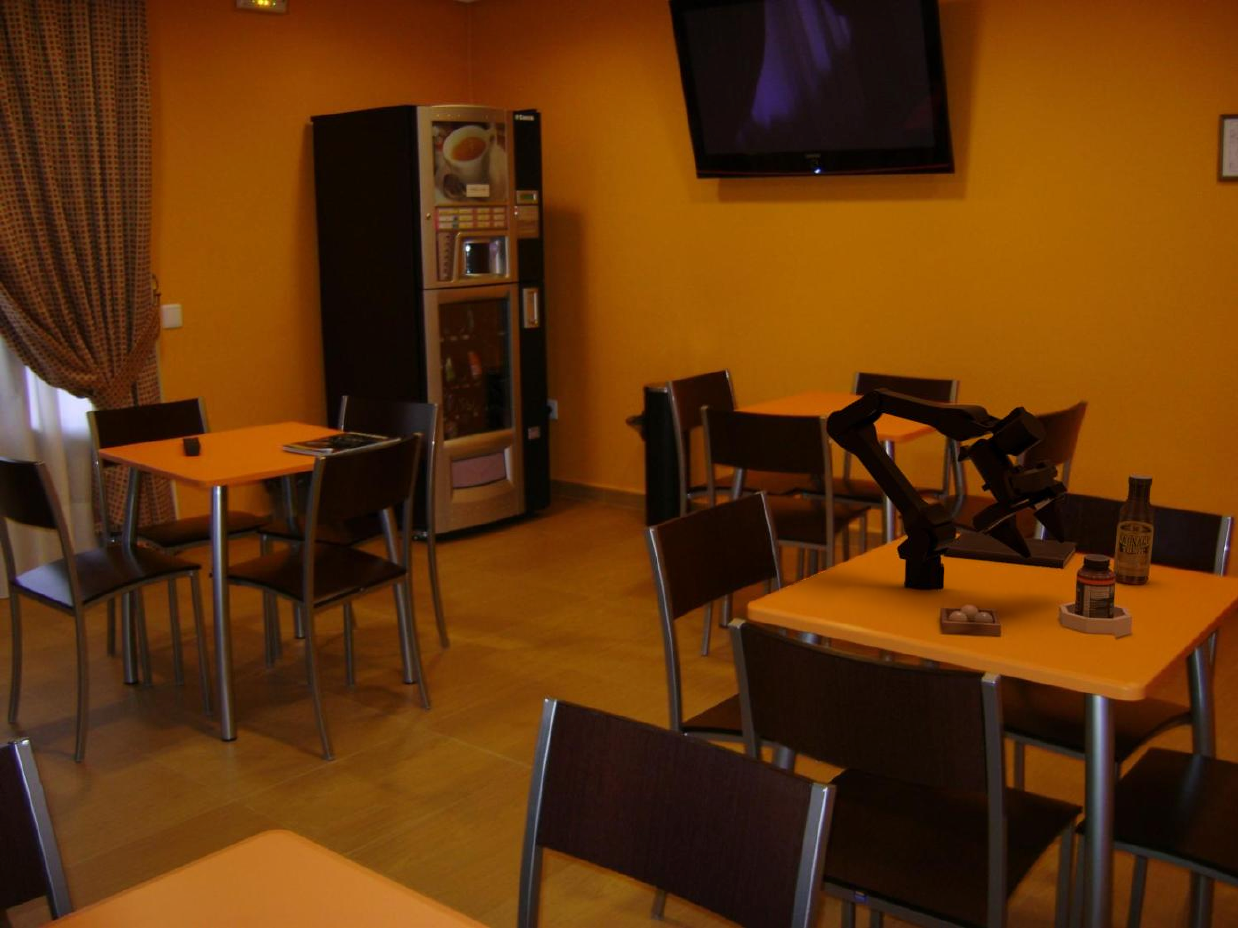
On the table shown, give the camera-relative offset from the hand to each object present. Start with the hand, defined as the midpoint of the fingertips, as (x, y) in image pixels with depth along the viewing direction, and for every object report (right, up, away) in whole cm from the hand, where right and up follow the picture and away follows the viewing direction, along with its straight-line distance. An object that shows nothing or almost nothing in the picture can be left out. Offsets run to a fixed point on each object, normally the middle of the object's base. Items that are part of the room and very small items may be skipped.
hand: (1046, 549), depth 214 cm
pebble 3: (-13, -12, -8) cm, 20 cm away
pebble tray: (-15, -13, -6) cm, 20 cm away
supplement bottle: (+6, -12, -5) cm, 14 cm away
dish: (+6, -13, -5) cm, 15 cm away
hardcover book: (+8, -5, +44) cm, 45 cm away
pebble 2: (-14, -12, -4) cm, 19 cm away
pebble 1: (-17, -12, -8) cm, 22 cm away
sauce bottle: (+23, -8, +22) cm, 33 cm away
